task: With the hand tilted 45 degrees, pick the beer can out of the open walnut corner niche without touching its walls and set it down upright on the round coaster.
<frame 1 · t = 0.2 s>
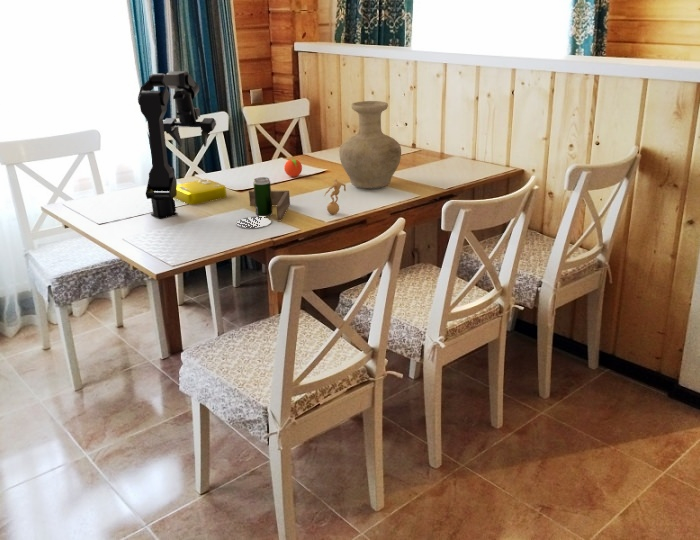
hand: (193, 146, 253), 15 cm above the table, tool pointing down, fingers open, 9 cm apart
coaster: (254, 223, 217), on the table
beer can: (264, 215, 225), on the table
vase: (370, 186, 254), on the table
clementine: (294, 177, 269), on the table
figurine: (335, 215, 223), on the table
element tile: (199, 198, 246), on the table
corner niche: (263, 215, 224), on the table
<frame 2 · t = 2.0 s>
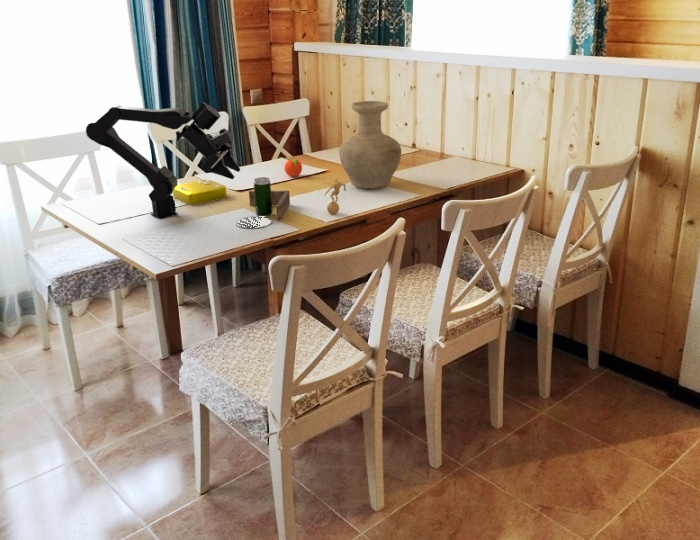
hand: (236, 174, 221), 13 cm above the table, tool tilted 45°, fingers open, 9 cm apart
nothing on the table moved.
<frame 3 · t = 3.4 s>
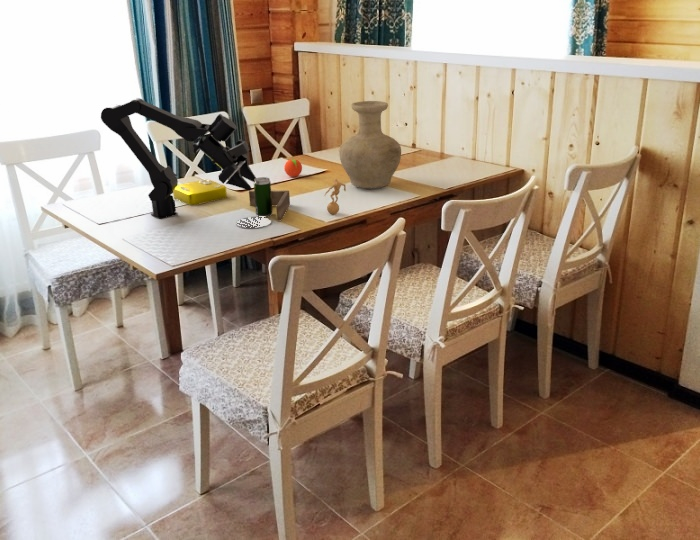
hand: (253, 185, 221), 10 cm above the table, tool tilted 45°, fingers open, 9 cm apart
nothing on the table moved.
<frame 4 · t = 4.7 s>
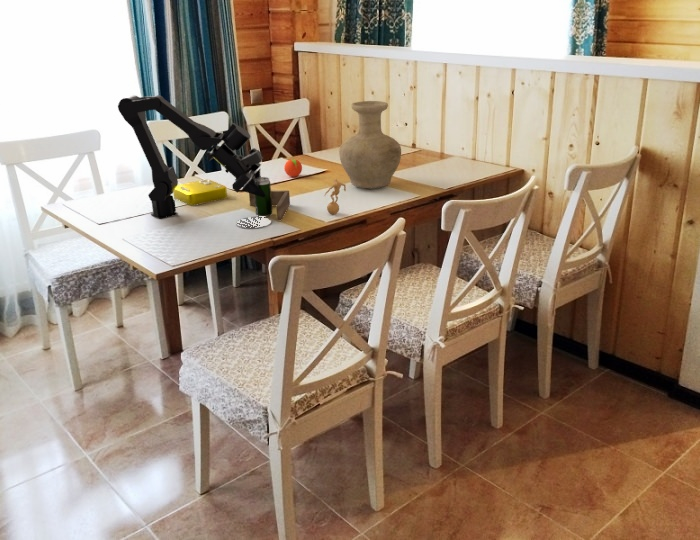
hand: (266, 193, 221), 7 cm above the table, tool tilted 45°, fingers closed on beer can, 5 cm apart
beer can: (264, 215, 225), on the table, touching gripper
everything else where it was.
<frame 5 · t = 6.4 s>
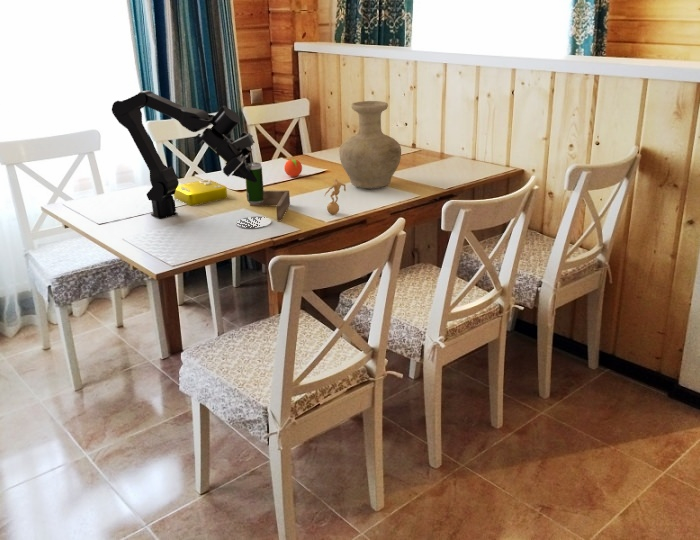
hand: (258, 178, 215), 13 cm above the table, tool tilted 45°, fingers closed on beer can, 5 cm apart
beer can: (255, 202, 218), point 6 cm above the table, touching gripper
everything else where it was.
when the fingers open (8 cm above the table, at t = 7.9 s): beer can stays where it is, resting on coaster.
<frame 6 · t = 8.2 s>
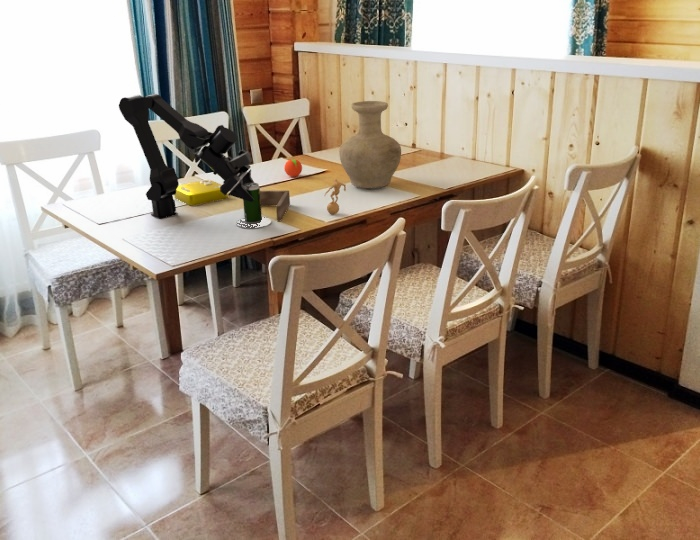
hand: (256, 197, 214), 9 cm above the table, tool tilted 45°, fingers open, 8 cm apart
beer can: (253, 222, 217), resting on coaster
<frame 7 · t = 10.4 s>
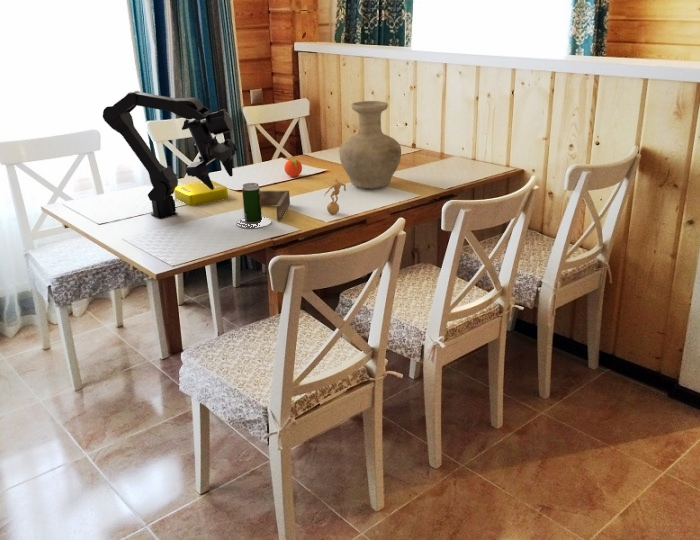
hand: (222, 182, 222), 11 cm above the table, tool tilted 15°, fingers open, 9 cm apart
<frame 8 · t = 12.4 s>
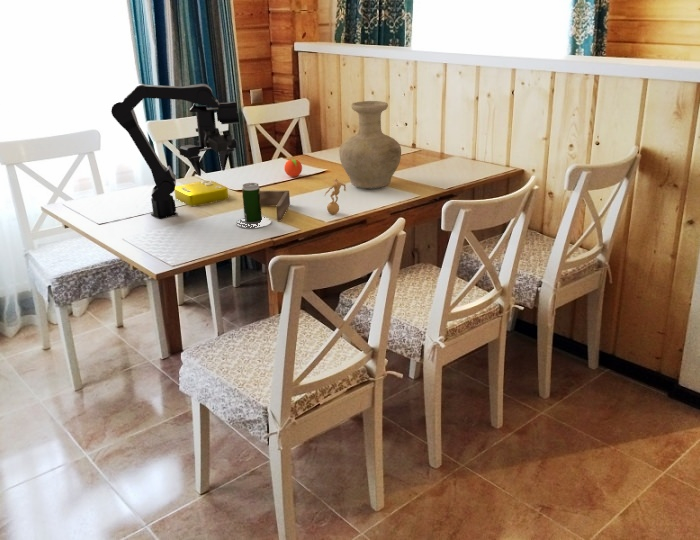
hand: (211, 173, 225), 13 cm above the table, tool pointing down, fingers open, 9 cm apart
at the end: beer can inside the target area on the coaster (0.1 cm from its centre), point 0.2 cm above the coaster's base; beer can tilted 0°; the gripper is holding nothing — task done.
